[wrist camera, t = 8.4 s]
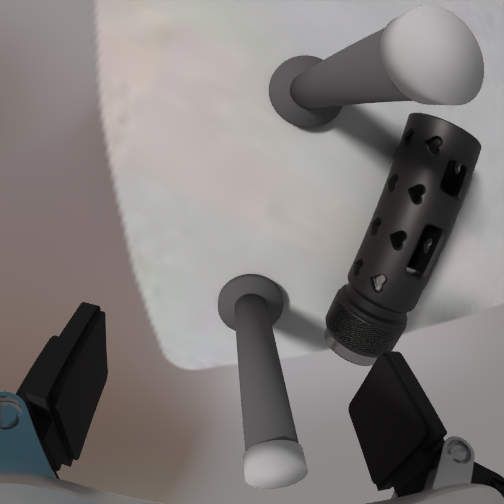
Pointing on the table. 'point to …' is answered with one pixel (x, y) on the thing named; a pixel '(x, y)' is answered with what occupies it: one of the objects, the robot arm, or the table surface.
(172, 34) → the table surface
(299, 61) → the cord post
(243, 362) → the cord post
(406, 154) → the muzzle brake
